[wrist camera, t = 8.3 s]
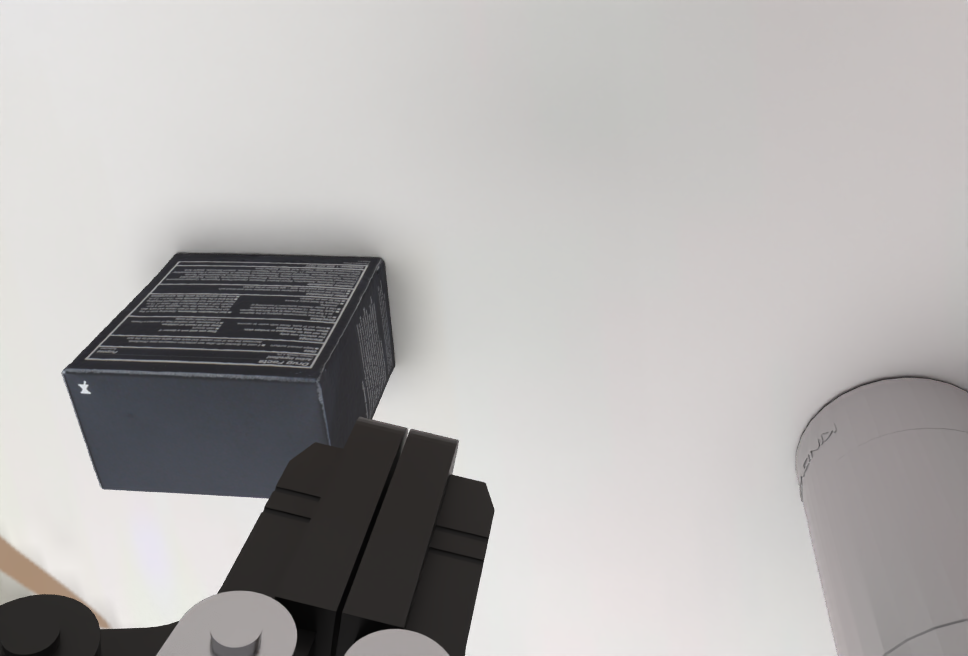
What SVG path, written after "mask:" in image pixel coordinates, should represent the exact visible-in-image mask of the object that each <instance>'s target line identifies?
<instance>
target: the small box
mask: <svg viewBox="0 0 968 656" xmlns="http://www.w3.org/2000/svg"><path fill="white" fill-rule="evenodd" d="M394 367H395V360H394V348H393V338H392V328H391V319H390V310H389V301H388V293H387V282H386V273H385V265H384V261H383V260H382V259H380V258H356V257H314V256H269V255H222V254H175V255H174V256H173V258H172V259H171V260H170V261H169V262H168V263H167V264H166V266H165V267H164V268H163V269H162V270H161V271H160V272H159V274H158V275H157V276H156V277H154V279H153V280H152V281H151V282H150V283H149V284H148V285H147V286H146V287H145V288H144V289H143V290H142V291H141V292H140V293H139V294H138V295H137V296H136V297H135V298H134V299H133V301H132V302H130V303H129V305H128V306H127V307H126V308H125V309H124V310H122V311H121V312H120V313H119V314H118V315H117V316H116V317H115V318H114V319H113V320H112V321H111V323H110V324H109V325H108V326H107V327H105V328H104V330H103V331H102V332H101V333H100V334H99V335H98V336H97V337H96V338H95V339H94V340H93V341H92V342H91V343H90V344H89V345H88V346H87V347H86V348H85V349H84V350H83V351H82V352H81V353H80V354H79V355H78V357H77V358H76V359H75V360H74V361H73V362H72V363H71V364H69V365H68V366H67V367H66V368H65V369H64V370H63V371H62V376H63V379H64V382H65V385H66V387H67V391H68V393H69V396H70V399H71V402H72V405H73V408H74V411H75V414H76V417H77V420H78V423H79V426H80V429H81V432H82V434H83V438H84V441H85V443H86V447H87V449H88V453H89V456H90V459H91V461H92V464H93V468H94V470H95V473H96V476H97V479H98V481H99V485H100V487H101V488H102V489H108V490H127V491H145V492H166V493H184V494H201V495H218V496H236V497H253V498H270V496H271V494H272V492H273V491H275V488H276V485H277V483H278V481H279V479H280V477H281V476H282V474H283V472H284V470H285V468H286V466H287V464H288V463H289V461H290V460H291V459H293V458H294V457H295V456H297V455H298V454H300V453H301V452H302V451H304V450H305V449H306V448H308V447H309V446H311V445H312V444H313V443H315V442H317V443H321V444H325V445H329V446H334V447H338V448H342V449H344V446H345V444H346V442H347V440H348V438H349V436H350V434H351V431H352V429H353V427H354V425H355V423H356V421H357V419H358V418H359V417H363V418H367V419H371V420H372V418H373V416H374V413H375V411H376V408H377V406H378V404H379V401H380V399H381V397H382V394H383V392H384V389H385V387H386V385H387V382H388V380H389V378H390V375H391V373H392V371H393V369H394Z"/></svg>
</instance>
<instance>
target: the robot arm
mask: <svg viewBox="0 0 968 656" xmlns="http://www.w3.org/2000/svg"><path fill="white" fill-rule="evenodd" d="M407 434H408V429H407V428H405V427H401V426H397V425H392V424H388V423H384V422H380V421H376V420H371V419H367V418H363V417H359V418H358V419H357V421H356V423H355V425H354V427H353V429H352V431H351V434H350V436H349V438H348V440H347V442H346V444H345V446H344V449H342V448H338V447H334V446H329V445H325V444H321V443H317V442H315V443H313V444H312V445H311V446H309V447H308V448H306V449H305V450H304V451H302V452H301V453H300V454H298V455H297V456H295V457H294V458H293V459H291V460H290V461H289V463H288V464H287V466H286V468H285V470H284V472H283V474H282V476H281V477H280V479H279V481H278V483H277V485H276V488H275V491H273V492H272V494H271V496H270V498H269V500H268V502H267V503H266V505H265V508H264V511H263V512H262V513H261V515H260V516H259V518H258V520H257V522H256V524H255V526H254V528H253V529H252V531H251V533H250V535H249V537H248V539H247V541H246V542H245V544H244V546H243V548H242V550H241V552H240V554H239V555H238V557H237V559H236V561H235V563H234V565H233V567H232V568H231V570H230V572H229V574H228V576H227V578H226V580H225V581H224V583H223V585H222V587H221V589H220V590H219V592H218V593H217V594H216V595H213V596H210V597H208V598H206V599H204V600H202V601H200V602H199V603H197V604H195V605H194V606H193V607H192V608H191V609H189V610H188V611H187V612H186V613H185V615H184V616H183V617H182V618H181V620H180V621H178V622H175V623H172V624H168V625H163V626H158V627H149V628H127V629H100V627H99V623H98V621H97V619H96V617H95V615H94V614H93V613H92V611H91V610H90V609H89V608H88V607H86V606H85V605H84V604H82V603H81V602H79V601H77V600H75V599H72V598H68V597H65V596H60V595H46V594H42V595H33V596H27V597H23V598H19V599H16V600H13V601H10V602H7V603H5V604H3V605H0V656H465V649H466V644H467V639H468V634H469V630H470V625H471V620H472V615H473V610H474V606H475V601H476V596H477V591H478V587H479V582H480V577H481V572H482V568H483V562H484V558H485V553H486V549H487V544H488V539H489V534H490V529H491V525H492V520H493V515H494V507H493V504H492V501H491V498H490V495H489V492H488V489H487V486H486V483H484V482H480V481H476V480H472V479H467V478H463V477H459V476H455V475H452V473H453V468H454V463H455V458H456V454H457V449H458V443H459V440H456V439H452V438H448V437H443V436H439V435H435V434H431V433H427V432H423V431H418V430H414V429H411V430H410V432H409V434H408V437H407ZM796 473H797V477H798V482H799V487H800V497H801V501H802V502H803V505H804V509H805V514H806V518H807V522H808V527H809V533H810V537H811V541H812V546H813V550H814V554H815V559H816V563H817V568H818V572H819V576H820V581H821V585H822V589H823V594H824V598H825V602H826V607H827V611H828V615H829V620H830V624H831V628H832V633H833V637H834V641H835V646H836V650H837V655H838V656H968V392H966V391H964V390H962V389H960V388H958V387H955V386H953V385H951V384H948V383H944V382H940V381H935V380H931V379H922V378H897V379H888V380H881V381H878V382H874V383H871V384H867V385H863V386H860V387H858V388H856V389H854V390H852V391H850V392H847V393H845V394H843V395H841V396H840V397H838V398H837V399H835V400H834V401H833V402H831V403H830V404H828V405H827V406H825V407H824V408H823V409H822V410H821V411H820V412H819V413H818V414H817V415H816V416H815V418H814V419H813V420H812V421H811V422H810V423H809V425H808V427H807V428H806V430H805V432H804V433H803V435H802V437H801V439H800V443H799V446H798V449H797V452H796Z"/></svg>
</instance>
